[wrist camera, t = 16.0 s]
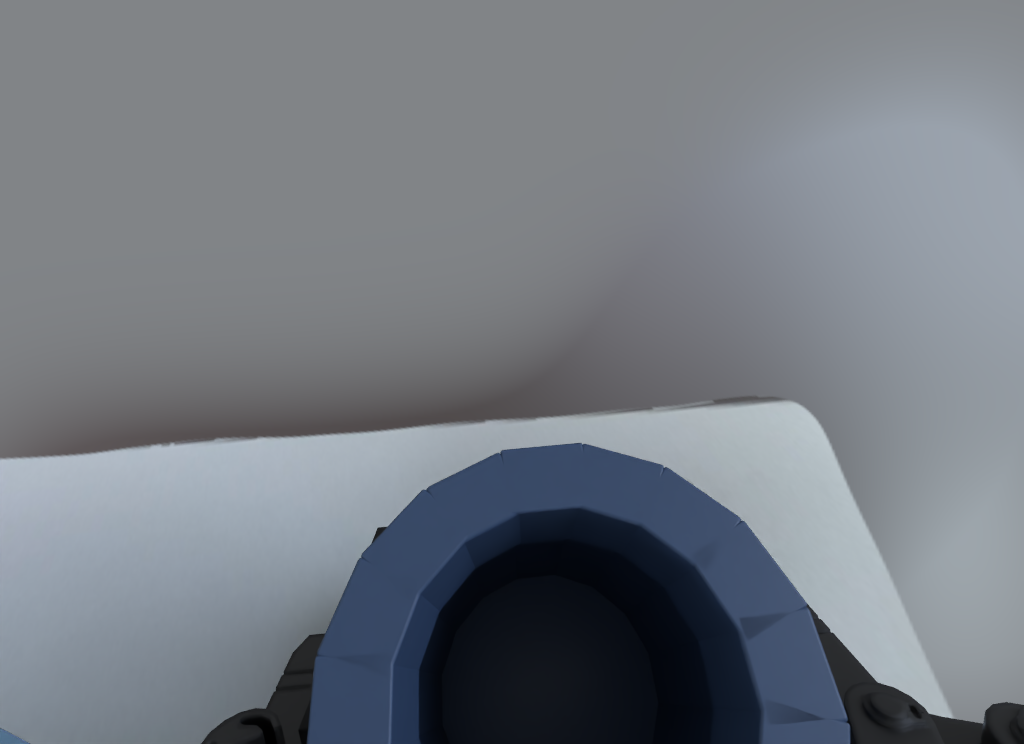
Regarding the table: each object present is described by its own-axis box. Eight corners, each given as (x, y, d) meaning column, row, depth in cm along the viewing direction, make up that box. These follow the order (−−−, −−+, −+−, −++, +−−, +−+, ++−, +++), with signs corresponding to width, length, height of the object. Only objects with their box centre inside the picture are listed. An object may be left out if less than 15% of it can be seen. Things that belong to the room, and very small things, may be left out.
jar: (431, 857, 15) (266, 1146, 5) (429, 577, 19) (332, 464, 9) (694, 828, 15) (972, 1060, 6) (638, 556, 19) (746, 426, 10)
